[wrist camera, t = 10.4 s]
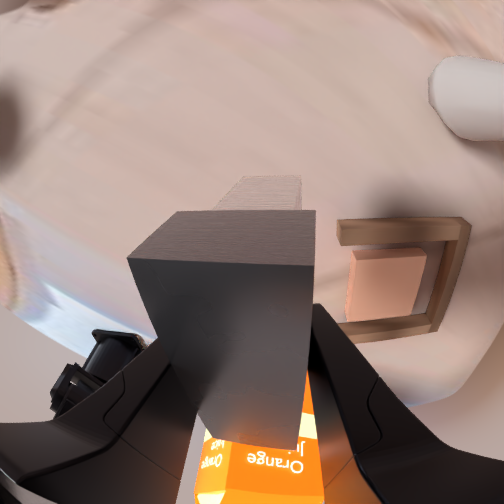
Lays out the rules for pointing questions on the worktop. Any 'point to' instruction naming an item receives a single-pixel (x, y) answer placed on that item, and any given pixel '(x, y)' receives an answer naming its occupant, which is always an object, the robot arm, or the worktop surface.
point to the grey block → (237, 307)
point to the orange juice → (262, 469)
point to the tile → (383, 283)
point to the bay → (403, 232)
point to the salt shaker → (469, 97)
